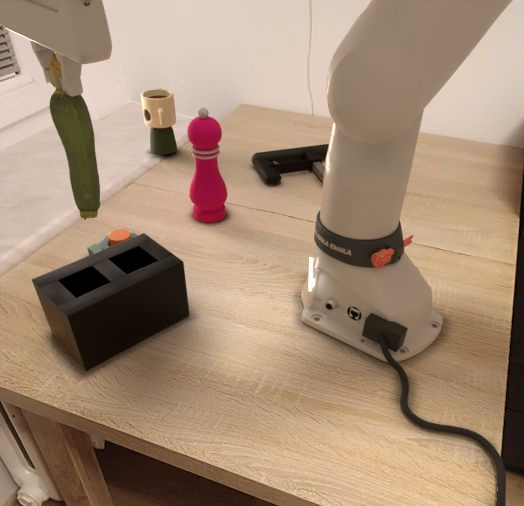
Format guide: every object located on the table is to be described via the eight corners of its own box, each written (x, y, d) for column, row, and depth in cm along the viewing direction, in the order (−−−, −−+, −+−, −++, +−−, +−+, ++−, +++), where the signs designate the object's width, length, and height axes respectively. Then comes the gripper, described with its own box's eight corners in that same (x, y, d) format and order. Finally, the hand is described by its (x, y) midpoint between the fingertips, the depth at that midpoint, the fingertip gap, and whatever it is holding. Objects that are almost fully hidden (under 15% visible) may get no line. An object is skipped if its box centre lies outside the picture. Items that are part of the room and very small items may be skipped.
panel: (160, 265, 86) (157, 245, 83) (120, 284, 82) (115, 264, 79) (129, 241, 91) (125, 222, 88) (89, 258, 87) (84, 238, 84)
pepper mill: (222, 226, 95) (218, 117, 81) (186, 221, 96) (175, 113, 82) (232, 207, 100) (229, 102, 86) (197, 203, 101) (188, 98, 87)
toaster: (189, 316, 76) (183, 261, 69) (86, 371, 68) (67, 316, 61) (153, 286, 82) (143, 232, 75) (52, 334, 73) (31, 279, 66)
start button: (136, 244, 84) (134, 235, 83) (117, 252, 82) (115, 243, 81) (124, 235, 86) (123, 226, 84) (106, 243, 84) (104, 234, 83)
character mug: (146, 144, 122) (138, 86, 113) (176, 141, 123) (170, 84, 114) (151, 163, 114) (143, 103, 105) (182, 160, 116) (176, 100, 107)
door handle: (359, 172, 107) (329, 138, 117) (271, 184, 103) (248, 148, 113) (357, 186, 110) (328, 152, 120) (270, 199, 105) (248, 162, 115)
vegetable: (84, 207, 70) (42, 44, 56) (115, 208, 70) (81, 45, 56) (74, 224, 67) (27, 55, 53) (106, 225, 67) (68, 56, 53)
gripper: (112, -60, 43) (138, 108, 53) (15, -79, 54) (51, 64, 64) (42, -55, 40) (83, 122, 50) (-46, -76, 51) (2, 73, 61)
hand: (65, 89), depth 57 cm, fingers closed on vegetable, 3 cm apart
